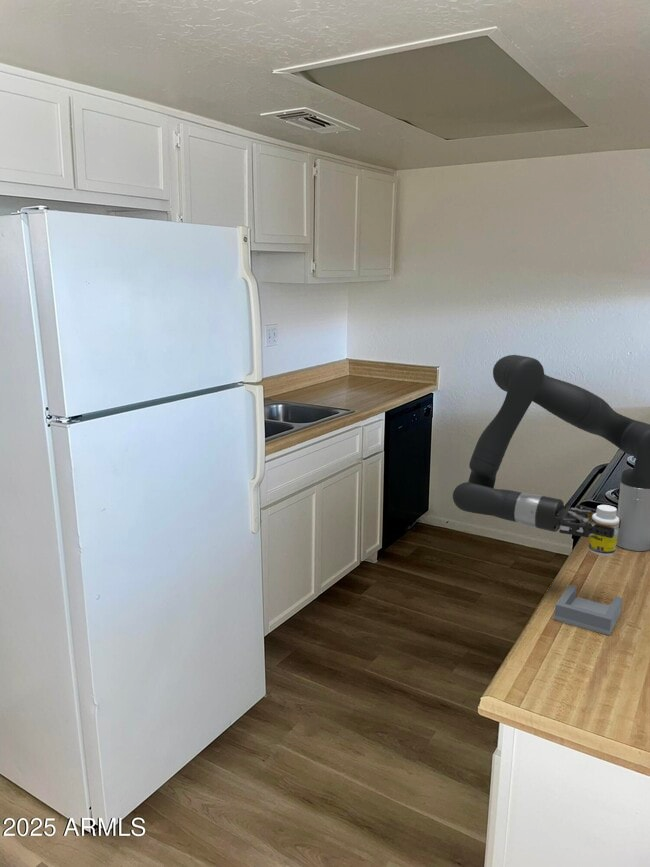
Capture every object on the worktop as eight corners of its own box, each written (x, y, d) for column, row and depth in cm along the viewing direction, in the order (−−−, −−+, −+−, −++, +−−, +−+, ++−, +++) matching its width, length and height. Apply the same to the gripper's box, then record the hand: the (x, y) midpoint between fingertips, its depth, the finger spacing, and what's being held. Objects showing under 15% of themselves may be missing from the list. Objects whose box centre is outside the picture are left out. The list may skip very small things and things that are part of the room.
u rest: (568, 598, 148) (569, 584, 147) (620, 613, 142) (622, 598, 141) (554, 619, 139) (555, 604, 138) (609, 635, 133) (611, 619, 132)
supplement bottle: (582, 547, 146) (587, 504, 144) (603, 545, 148) (608, 502, 145) (599, 558, 141) (604, 513, 139) (620, 555, 143) (626, 511, 140)
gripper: (530, 505, 144) (611, 522, 135) (550, 488, 156) (626, 502, 146) (527, 536, 146) (607, 556, 137) (547, 517, 158) (622, 534, 148)
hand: (616, 528), depth 142 cm, fingers closed on supplement bottle, 5 cm apart
